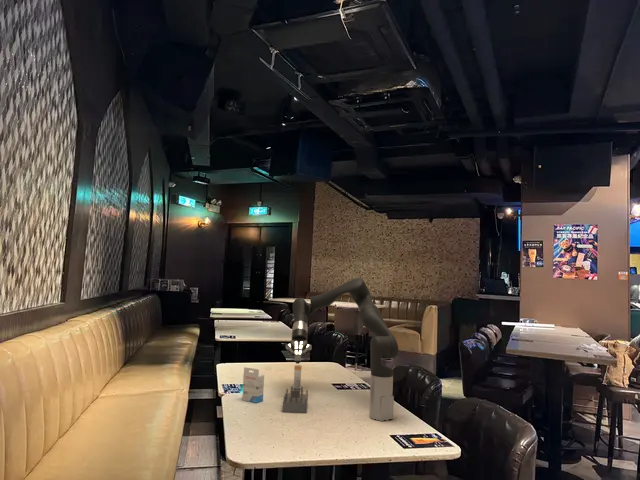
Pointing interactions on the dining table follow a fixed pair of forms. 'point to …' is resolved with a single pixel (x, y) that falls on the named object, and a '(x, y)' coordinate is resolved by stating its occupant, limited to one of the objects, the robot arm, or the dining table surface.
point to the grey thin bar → (297, 377)
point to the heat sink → (295, 401)
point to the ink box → (252, 385)
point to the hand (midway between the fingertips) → (297, 362)
